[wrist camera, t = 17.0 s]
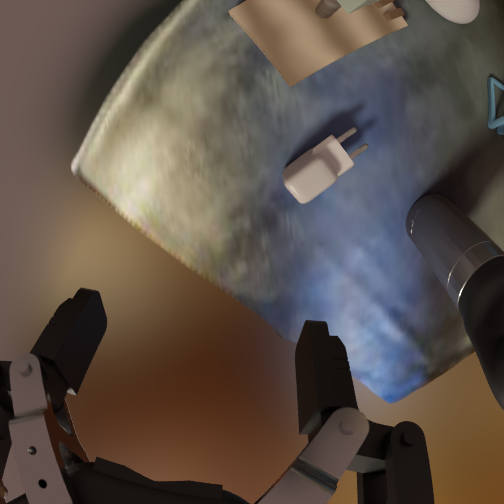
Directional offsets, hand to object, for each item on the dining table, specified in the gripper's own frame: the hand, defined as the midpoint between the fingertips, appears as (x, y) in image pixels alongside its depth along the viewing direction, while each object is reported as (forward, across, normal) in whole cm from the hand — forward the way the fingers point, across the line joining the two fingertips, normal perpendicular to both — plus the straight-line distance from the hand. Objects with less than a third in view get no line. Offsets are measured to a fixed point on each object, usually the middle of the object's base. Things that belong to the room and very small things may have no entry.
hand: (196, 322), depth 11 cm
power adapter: (+30, -10, 0) cm, 32 cm away
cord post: (+30, -7, -19) cm, 36 cm away
